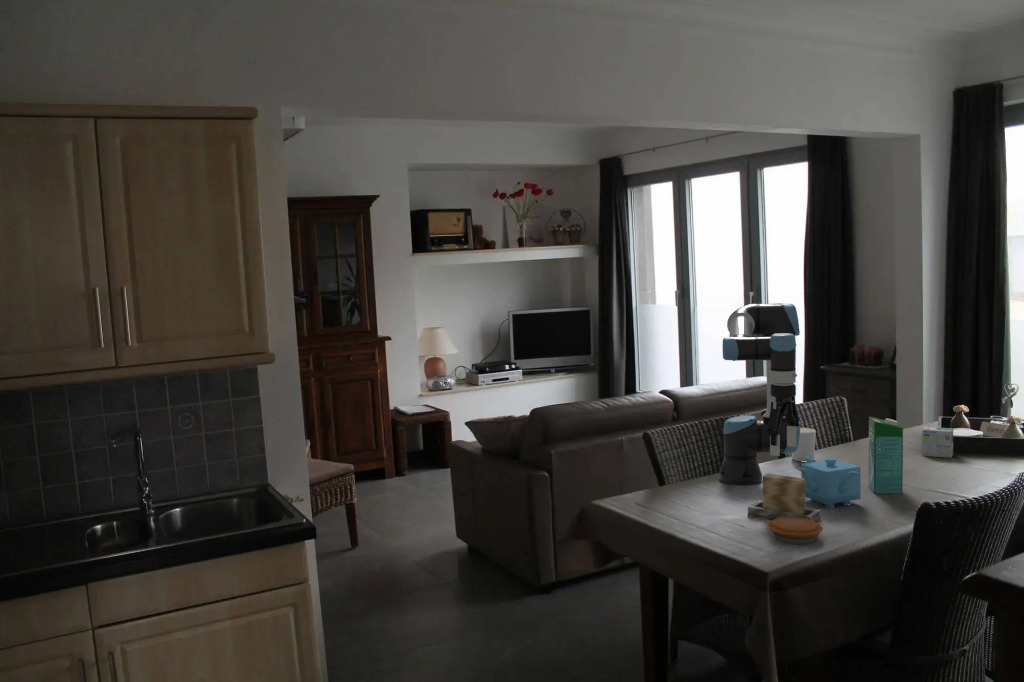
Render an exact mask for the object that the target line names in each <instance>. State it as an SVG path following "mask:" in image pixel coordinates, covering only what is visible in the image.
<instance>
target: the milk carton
mask: <svg viewBox="0 0 1024 682" xmlns="http://www.w3.org/2000/svg"><path fill="white" fill-rule="evenodd" d="M898 423H899V422H898V421H897V420H894V419H892V418H885V419H880V418H877V417H873V416H868V487H869V488H870V489H872V490H873V491H872V490H871V491H872V492H873V494H888V493H901V495H902V494H903V476H904V475H903V466H904V465H903V463H904V462H903V460H904V459H903V458H904V448H903V447H904V428H903V427H902V426H901V425H899V424H898Z"/></svg>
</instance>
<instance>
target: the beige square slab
mask: <svg viewBox="0 0 1024 682" xmlns="http://www.w3.org/2000/svg"><path fill="white" fill-rule="evenodd" d="M762 501H763V508H766V509H772V510H778V511H784V512H790V513H796V514H802V515H805V508H806V497H805V479H804V478H801V477H795V476H788V475H783V474H782V475H781V474H774V473H765V474H764V475H762Z"/></svg>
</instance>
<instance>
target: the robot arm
mask: <svg viewBox="0 0 1024 682" xmlns="http://www.w3.org/2000/svg"><path fill="white" fill-rule="evenodd" d="M726 321H727V322H726V328H727V331H728V332H729V336H727V337H723V339H722V358H723V360H724V361H732V362H735V361H766V411H765V413H763V415H762V419H761V420H758V418H757V416H755V415H739V416H734V417H730V418H728V419H726V420H725V421H724V423H723V432H722V433H723V453H724V454H723V460H722V464H721V467H720V470H719V480H720V481H721V482H723V483H726V484H730V485H741V486H743V485H755V484H760V483H761V482H763V474H762V471H761V468H760V465H759V462H758V457H757V456H758V453H769V456H775V457H780V455H781V454H783V455H784V454H792V453H794V452H795V451H796V450H797V448H798V443H799V437H800V428H801V425H802V424H801V421H800V418H799V412H798V409H797V405H796V396H797V386H796V384H795V383H796V382H797V381H796V380H797V379H796V378H797V377H798V374H797V368H796V367H797V366H796V365H797V364H796V363H797V360H796V358H797V357H796V356H797V351H796V350H797V342H796V337H797V336H800V333H801V331H800V323H799V316H798V310H797V308H796V306H795V305H794V304H793V303H784V302H781V303H751V304H746V305H743V306H740V307H739V308H738V309H736V310H734V311H733V312H732V313H731V314H730V315H729V317H728V319H727V320H726ZM753 336H754V337H753Z"/></svg>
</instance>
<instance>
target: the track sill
mask: <svg viewBox="0 0 1024 682" xmlns="http://www.w3.org/2000/svg"><path fill="white" fill-rule="evenodd" d="M821 515H822V514H821V510H820V509H815V508H809V507H805V515H802V514H796V513H790V512H784V511H778V510H772V509H766V508H763V500H757V501H755V502H753V503H752V504H751V505H749V506H747V517H750V518H755V519H760V520H765V521H772V520H775V519H777V518H781V517H801V518H806V519H810V520H813V521H814V522H816V523H818V522H819V521H821V520H820V519H822V517H821Z"/></svg>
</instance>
